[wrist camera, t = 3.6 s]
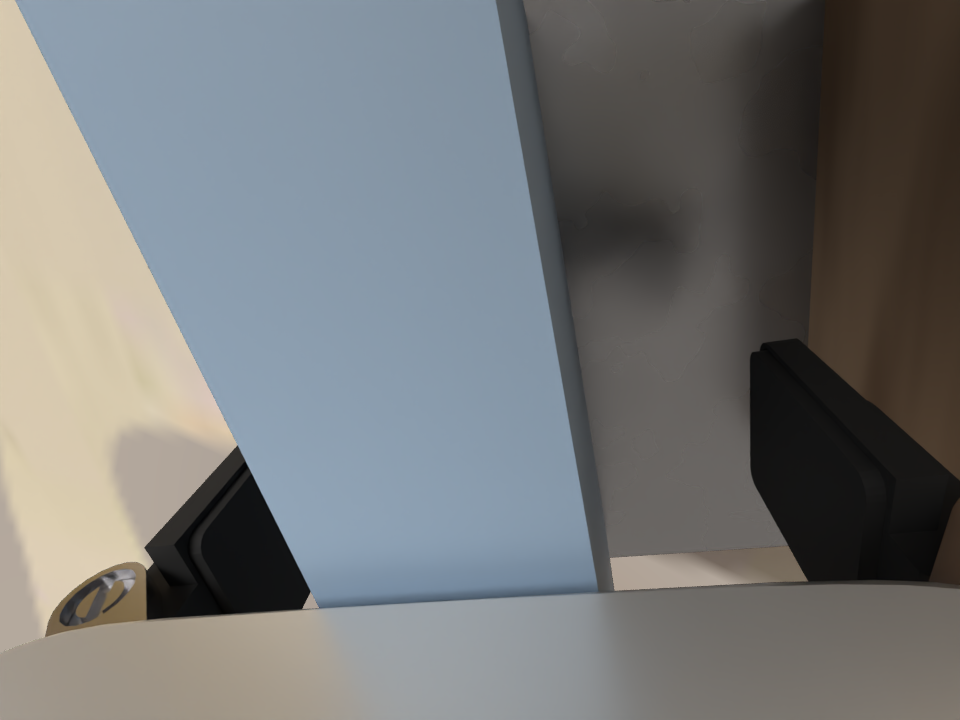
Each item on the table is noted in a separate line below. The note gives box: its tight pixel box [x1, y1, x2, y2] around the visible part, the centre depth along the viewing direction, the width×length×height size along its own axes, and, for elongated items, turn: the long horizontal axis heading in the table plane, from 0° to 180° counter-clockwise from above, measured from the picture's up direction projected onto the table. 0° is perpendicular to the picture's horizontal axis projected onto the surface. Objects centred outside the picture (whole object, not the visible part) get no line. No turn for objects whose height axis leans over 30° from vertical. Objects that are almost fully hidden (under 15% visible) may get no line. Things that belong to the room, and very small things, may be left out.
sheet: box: [15, 0, 614, 608], centre depth 10 cm, size 2×16×11 cm, turn 13°
